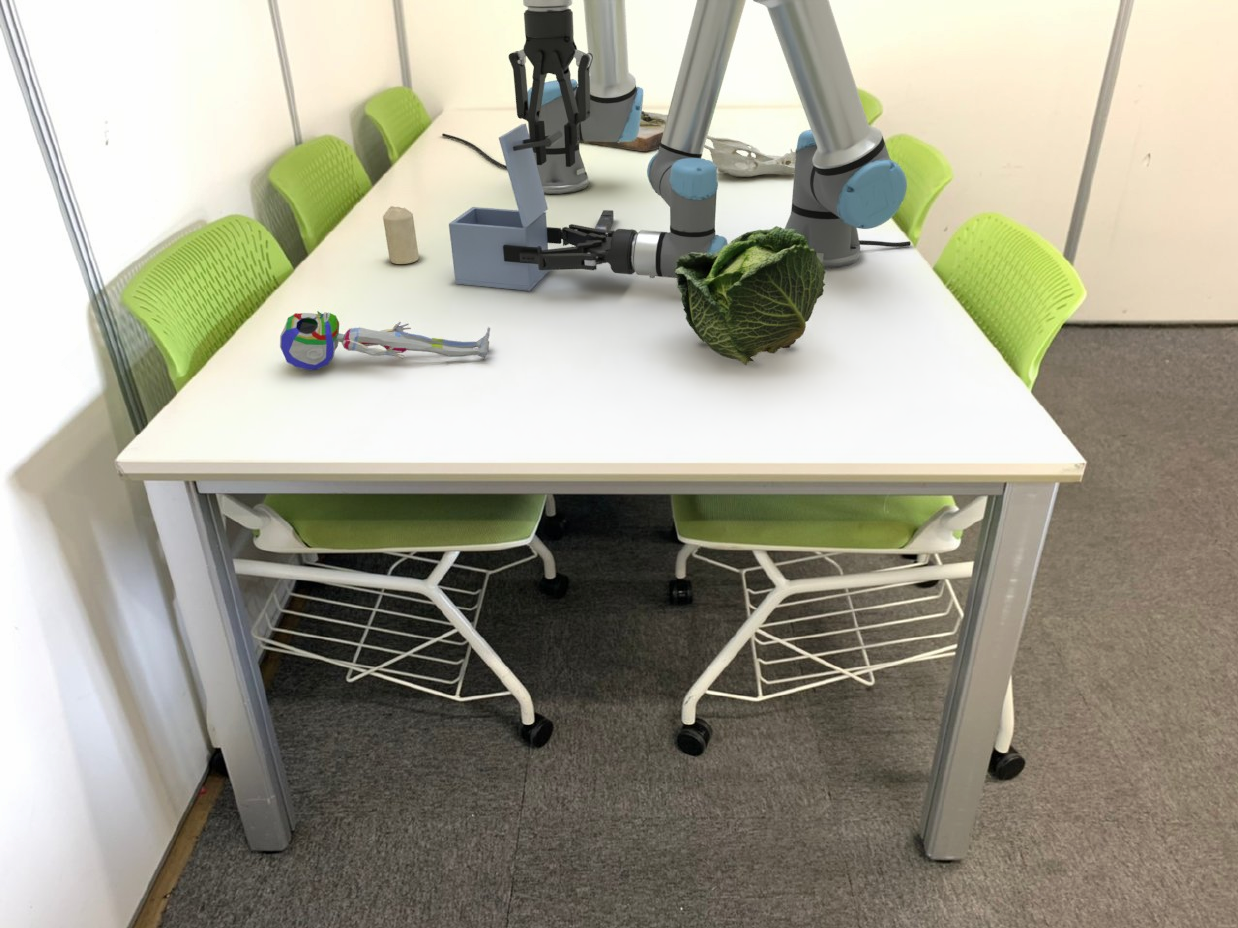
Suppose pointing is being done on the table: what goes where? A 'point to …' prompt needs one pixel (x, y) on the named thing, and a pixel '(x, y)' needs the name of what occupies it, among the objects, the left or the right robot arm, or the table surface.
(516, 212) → the chest
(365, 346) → the toy
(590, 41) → the left robot arm
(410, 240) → the candle
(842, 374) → the table surface
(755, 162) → the anatomical model
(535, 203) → the lid
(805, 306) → the vegetable
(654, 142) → the plaque
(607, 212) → the pillar
